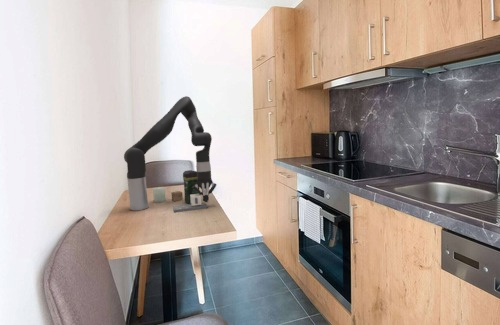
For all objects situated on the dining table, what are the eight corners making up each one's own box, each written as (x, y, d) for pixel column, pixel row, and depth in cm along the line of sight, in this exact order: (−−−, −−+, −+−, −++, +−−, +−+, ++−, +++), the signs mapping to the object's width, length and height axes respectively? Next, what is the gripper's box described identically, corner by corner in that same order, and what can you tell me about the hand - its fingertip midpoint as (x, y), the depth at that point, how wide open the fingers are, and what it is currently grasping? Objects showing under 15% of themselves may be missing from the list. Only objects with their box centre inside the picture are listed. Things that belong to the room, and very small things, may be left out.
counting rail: (173, 208, 153) (173, 205, 152) (204, 204, 158) (204, 201, 158) (174, 212, 145) (174, 209, 145) (207, 207, 150) (207, 205, 150)
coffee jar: (202, 202, 163) (200, 170, 161) (189, 205, 158) (187, 172, 156) (195, 199, 171) (193, 168, 169) (183, 201, 166) (180, 170, 164)
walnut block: (172, 200, 172) (171, 192, 172) (179, 198, 175) (179, 190, 174) (174, 201, 168) (174, 193, 168) (182, 200, 171) (182, 192, 170)
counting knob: (190, 203, 154) (190, 194, 153) (199, 202, 155) (199, 193, 155) (191, 206, 148) (191, 196, 148) (201, 204, 150) (200, 195, 149)
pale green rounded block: (153, 200, 174) (152, 187, 173) (165, 199, 176) (164, 186, 175) (153, 203, 167) (152, 189, 166) (166, 201, 169) (165, 188, 168)
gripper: (214, 168, 157) (216, 198, 159) (190, 170, 153) (192, 201, 155) (217, 169, 150) (219, 201, 152) (192, 172, 146) (194, 205, 148)
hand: (205, 201), depth 154 cm, fingers closed
